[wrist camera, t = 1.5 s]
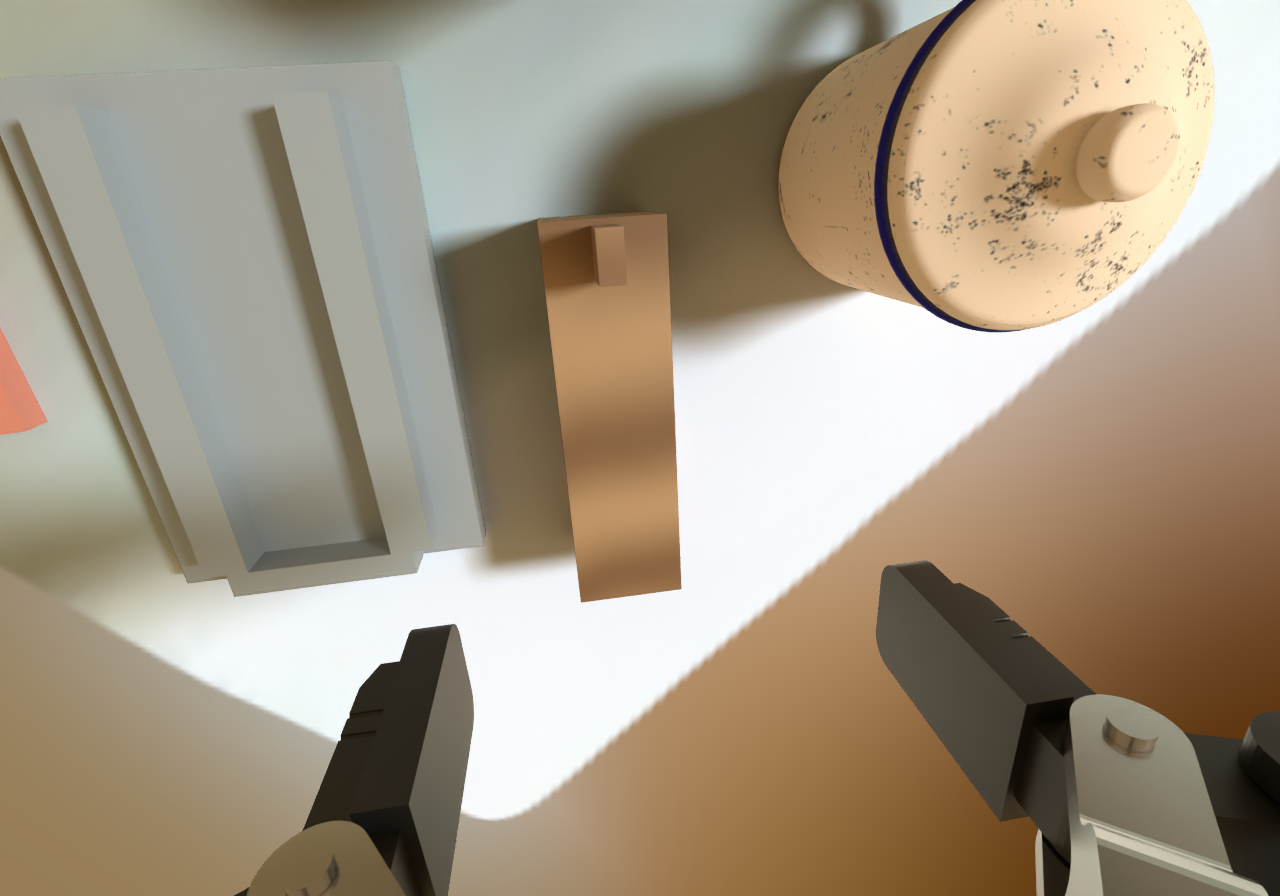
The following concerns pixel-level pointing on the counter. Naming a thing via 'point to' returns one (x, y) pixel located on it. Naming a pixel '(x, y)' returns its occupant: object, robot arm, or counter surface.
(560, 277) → the plank with peg
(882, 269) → the teacup with lid
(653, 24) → the counter surface
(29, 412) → the salmon pink bar
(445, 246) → the counter surface
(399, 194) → the cradle jig
